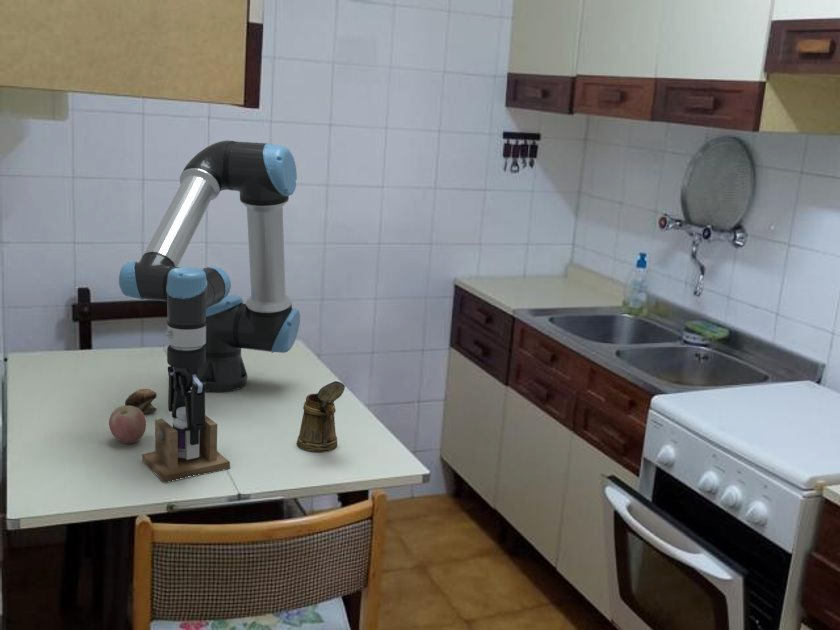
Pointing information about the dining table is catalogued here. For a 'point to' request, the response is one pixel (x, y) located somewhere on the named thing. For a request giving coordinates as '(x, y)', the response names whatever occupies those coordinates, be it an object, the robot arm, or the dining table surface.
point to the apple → (127, 424)
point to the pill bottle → (181, 430)
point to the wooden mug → (320, 419)
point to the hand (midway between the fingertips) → (186, 452)
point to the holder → (176, 468)
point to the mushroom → (142, 400)
